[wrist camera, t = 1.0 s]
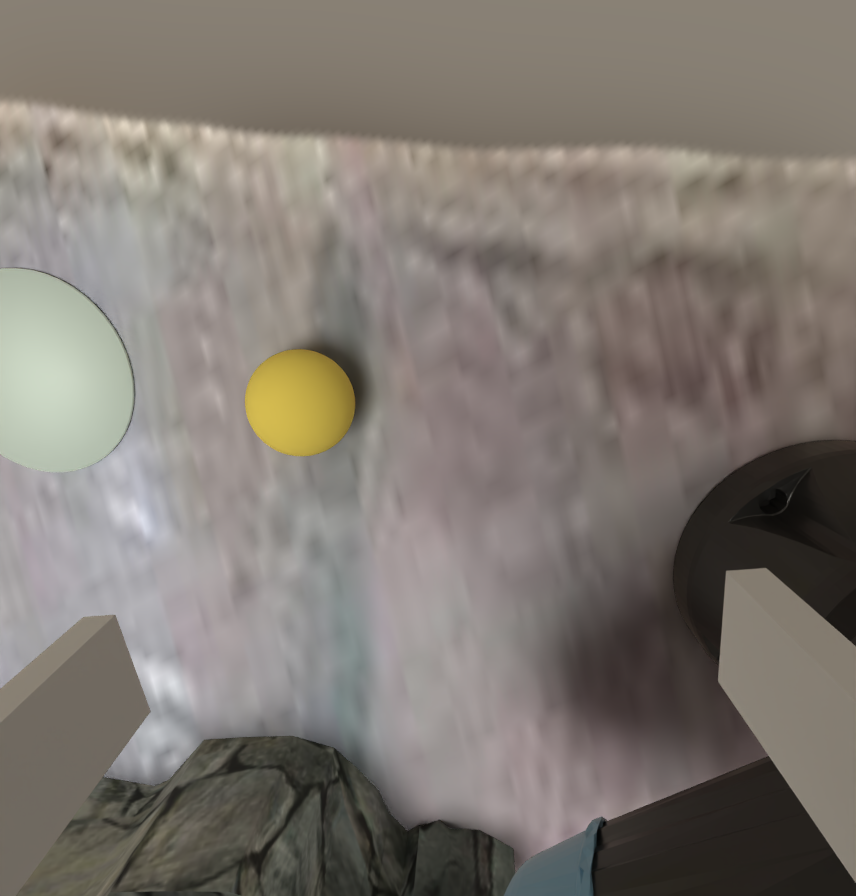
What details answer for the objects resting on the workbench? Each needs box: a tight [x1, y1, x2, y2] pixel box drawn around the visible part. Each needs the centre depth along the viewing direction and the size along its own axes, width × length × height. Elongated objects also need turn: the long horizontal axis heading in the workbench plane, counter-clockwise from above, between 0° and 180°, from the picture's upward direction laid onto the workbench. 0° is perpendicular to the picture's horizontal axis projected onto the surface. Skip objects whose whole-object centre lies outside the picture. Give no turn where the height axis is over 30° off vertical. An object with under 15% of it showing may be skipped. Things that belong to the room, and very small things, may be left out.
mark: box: [0, 268, 135, 472], centre depth 28 cm, size 12×12×1 cm
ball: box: [245, 349, 355, 456], centre depth 25 cm, size 6×6×6 cm
